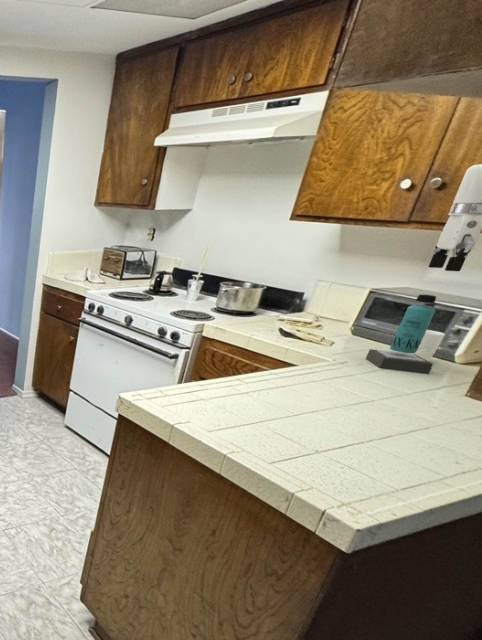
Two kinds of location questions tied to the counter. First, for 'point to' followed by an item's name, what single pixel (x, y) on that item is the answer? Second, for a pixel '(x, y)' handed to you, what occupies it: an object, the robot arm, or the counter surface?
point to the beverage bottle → (413, 326)
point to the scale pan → (400, 355)
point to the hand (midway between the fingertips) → (443, 269)
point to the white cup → (429, 344)
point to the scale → (398, 363)
